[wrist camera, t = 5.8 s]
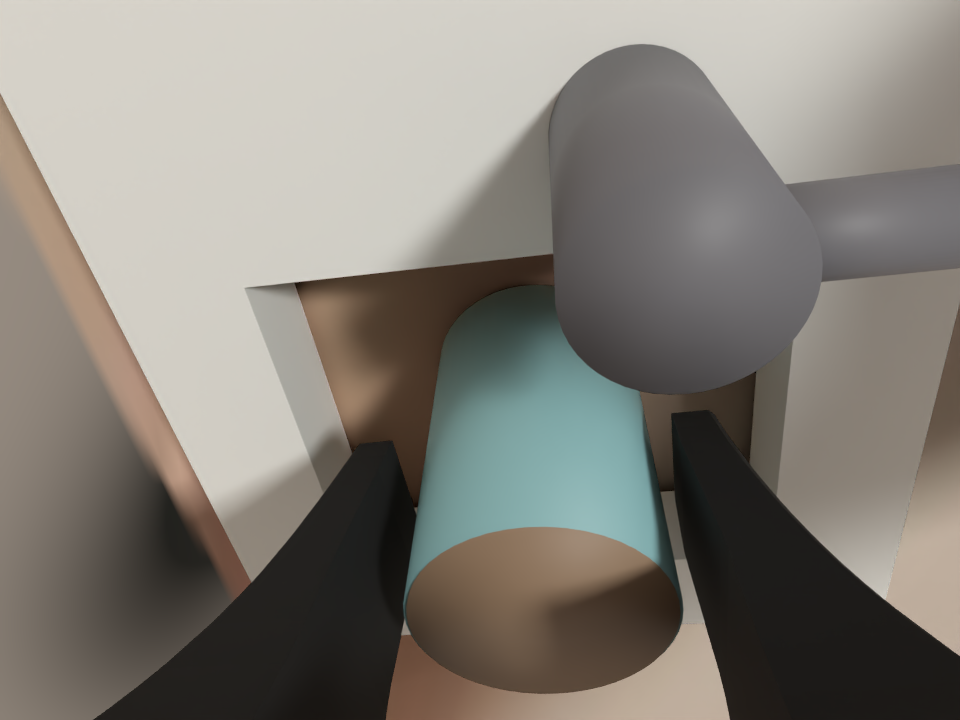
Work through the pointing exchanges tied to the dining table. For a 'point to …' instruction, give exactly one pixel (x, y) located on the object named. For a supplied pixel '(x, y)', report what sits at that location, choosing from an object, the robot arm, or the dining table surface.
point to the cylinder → (537, 512)
